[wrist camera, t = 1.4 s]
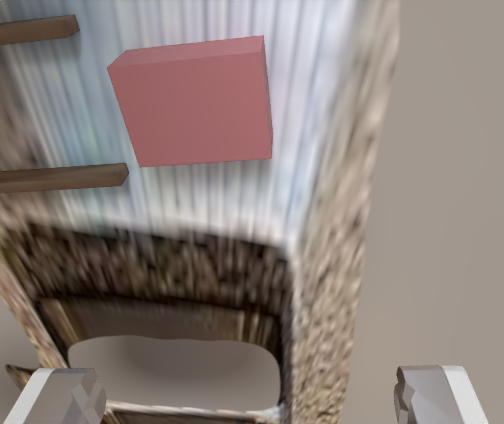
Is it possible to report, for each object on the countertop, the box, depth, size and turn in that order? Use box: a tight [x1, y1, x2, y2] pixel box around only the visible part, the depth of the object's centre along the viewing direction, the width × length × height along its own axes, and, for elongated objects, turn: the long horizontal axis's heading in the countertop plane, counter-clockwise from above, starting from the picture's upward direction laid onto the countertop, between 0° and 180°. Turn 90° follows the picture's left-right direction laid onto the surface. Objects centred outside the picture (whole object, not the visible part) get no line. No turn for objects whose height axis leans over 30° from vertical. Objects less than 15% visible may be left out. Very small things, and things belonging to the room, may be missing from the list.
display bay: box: [0, 15, 129, 193], centre depth 38 cm, size 15×16×2 cm
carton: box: [107, 35, 273, 167], centre depth 35 cm, size 9×12×5 cm
